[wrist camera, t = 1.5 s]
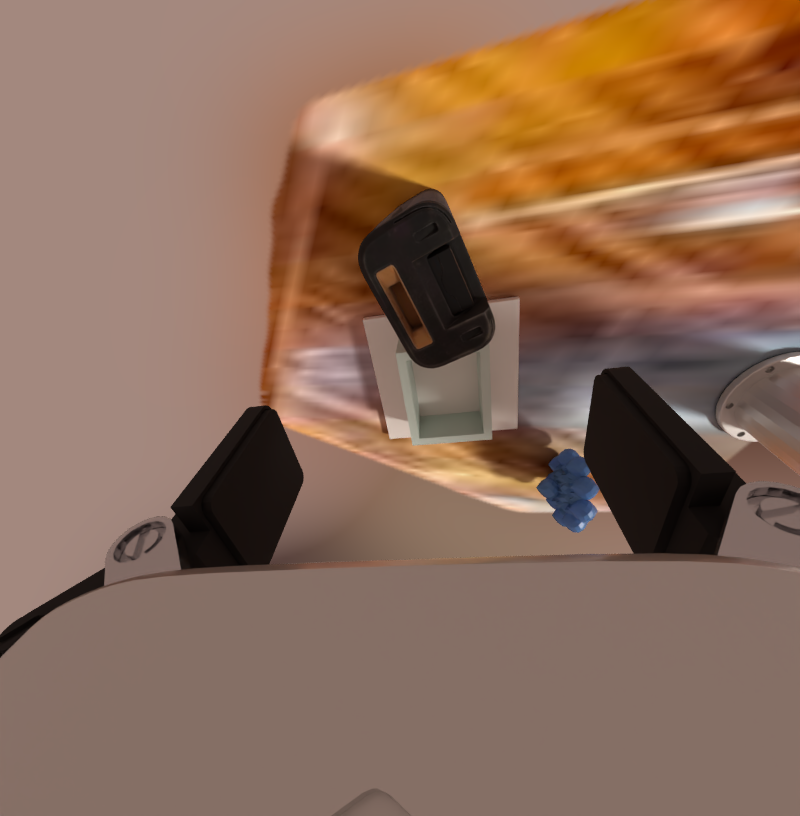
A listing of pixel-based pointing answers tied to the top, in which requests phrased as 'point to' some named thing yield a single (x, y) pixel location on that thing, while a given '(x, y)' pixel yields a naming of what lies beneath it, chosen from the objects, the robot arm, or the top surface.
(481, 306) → the electronic device
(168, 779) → the robot arm
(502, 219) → the top surface
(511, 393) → the dock
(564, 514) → the grapes
